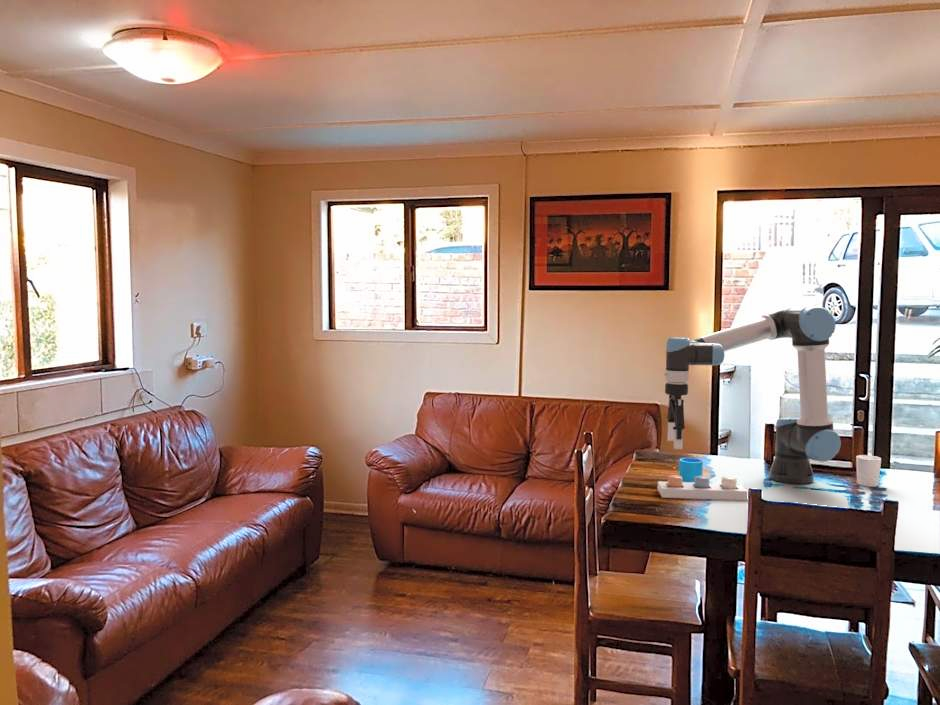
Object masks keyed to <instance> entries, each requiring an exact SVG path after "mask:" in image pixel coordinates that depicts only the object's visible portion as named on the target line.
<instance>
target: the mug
mask: <svg viewBox="0 0 940 705" xmlns="http://www.w3.org/2000/svg"><path fill="white" fill-rule="evenodd" d="M678 461H679V462H678V476H681V477H682V482H695V476H703V466H704V465H703V463H704V461H703V460H702V459H700V458H696V457H695V458H694V457H681V458H679V460H678Z"/></svg>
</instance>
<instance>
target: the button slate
mask: <svg viewBox="0 0 940 705" xmlns="http://www.w3.org/2000/svg"><path fill="white" fill-rule="evenodd" d="M709 483H710V477H708V476H706V475H702V476H695V483H694V487H695V488H709Z"/></svg>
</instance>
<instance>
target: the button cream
mask: <svg viewBox="0 0 940 705" xmlns="http://www.w3.org/2000/svg"><path fill="white" fill-rule="evenodd" d="M721 483H722V484H721V488H722V489H736V484H738V482H737V478H736V477H734V476H733V477H732V476H722V477H721Z"/></svg>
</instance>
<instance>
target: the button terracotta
mask: <svg viewBox="0 0 940 705" xmlns="http://www.w3.org/2000/svg"><path fill="white" fill-rule="evenodd" d="M667 482H668V487H676V488H682V477H681V476H679V474H678V475H677V474H672V475H668V476H667Z"/></svg>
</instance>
